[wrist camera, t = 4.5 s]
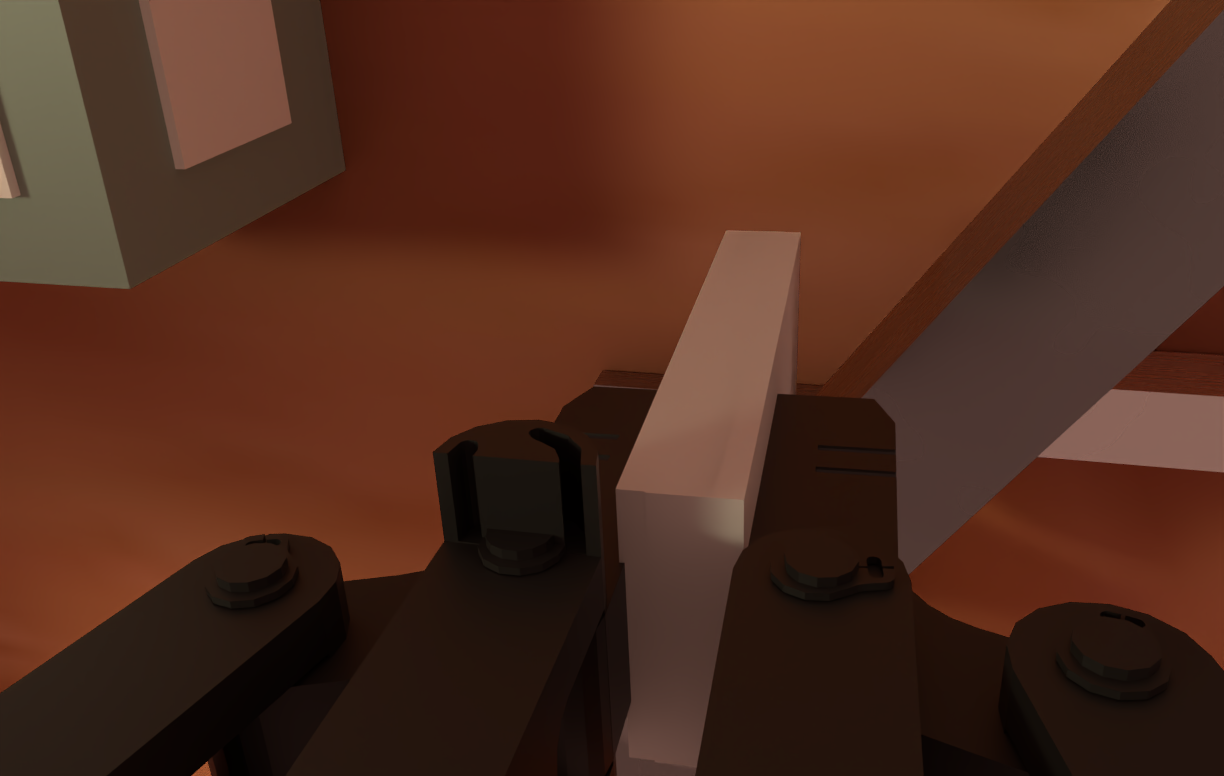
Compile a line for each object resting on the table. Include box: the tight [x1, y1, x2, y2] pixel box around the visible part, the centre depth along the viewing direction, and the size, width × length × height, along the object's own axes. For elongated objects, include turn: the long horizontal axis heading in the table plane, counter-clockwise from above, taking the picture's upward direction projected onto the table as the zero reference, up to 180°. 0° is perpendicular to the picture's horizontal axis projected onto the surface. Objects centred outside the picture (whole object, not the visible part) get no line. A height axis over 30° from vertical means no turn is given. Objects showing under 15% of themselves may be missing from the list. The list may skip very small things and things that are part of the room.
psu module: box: [0, 0, 346, 289], centre depth 16 cm, size 7×6×6 cm
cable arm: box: [815, 0, 1224, 575], centre depth 12 cm, size 16×3×2 cm, turn 147°
